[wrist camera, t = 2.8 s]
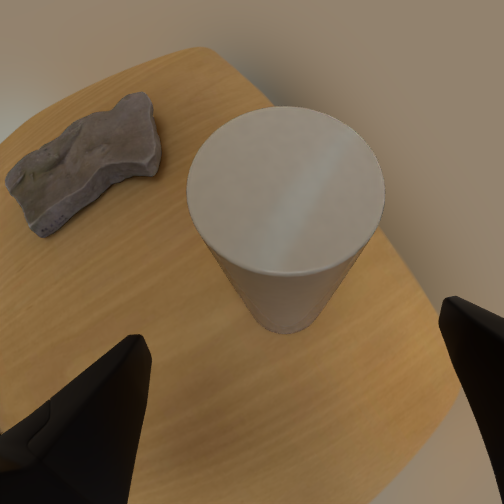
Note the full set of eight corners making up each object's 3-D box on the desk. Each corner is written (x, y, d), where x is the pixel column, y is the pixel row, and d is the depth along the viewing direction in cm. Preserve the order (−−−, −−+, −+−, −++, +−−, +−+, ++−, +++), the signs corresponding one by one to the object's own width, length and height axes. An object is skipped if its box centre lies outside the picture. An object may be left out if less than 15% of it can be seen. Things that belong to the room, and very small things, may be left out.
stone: (152, 99, 26) (137, 68, 22) (180, 170, 23) (163, 137, 19) (27, 171, 26) (4, 150, 22) (30, 252, 22) (-1, 235, 18)
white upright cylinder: (337, 309, 19) (423, 211, 6) (269, 347, 18) (242, 318, 6) (299, 247, 20) (312, 85, 8) (234, 282, 20) (159, 153, 8)
